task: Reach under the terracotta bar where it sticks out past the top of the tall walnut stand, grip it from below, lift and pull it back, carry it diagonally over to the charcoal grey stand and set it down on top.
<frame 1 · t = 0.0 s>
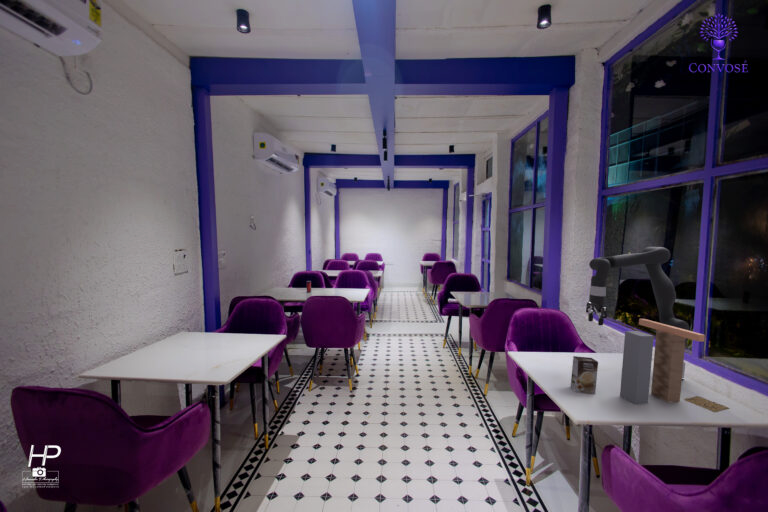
hand: (595, 323, 182), 29 cm above the table, tool pointing down, fingers open, 8 cm apart
sandy brown tile: (705, 405, 154), on the table
walnut stand: (665, 397, 159), on the table
bar: (668, 332, 158), point 32 cm above the table, touching walnut stand
grey stand: (633, 399, 156), on the table
coffee box: (582, 390, 164), on the table
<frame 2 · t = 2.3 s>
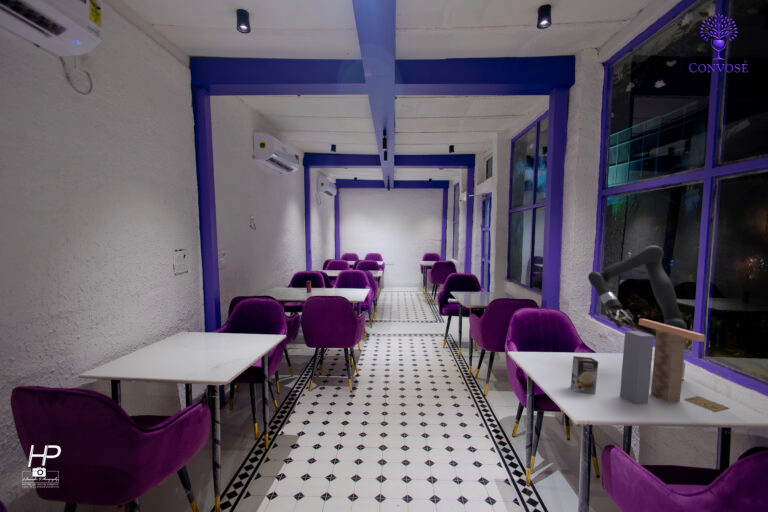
hand: (627, 326, 179), 29 cm above the table, tool tilted 45°, fingers open, 8 cm apart
nothing on the table moved.
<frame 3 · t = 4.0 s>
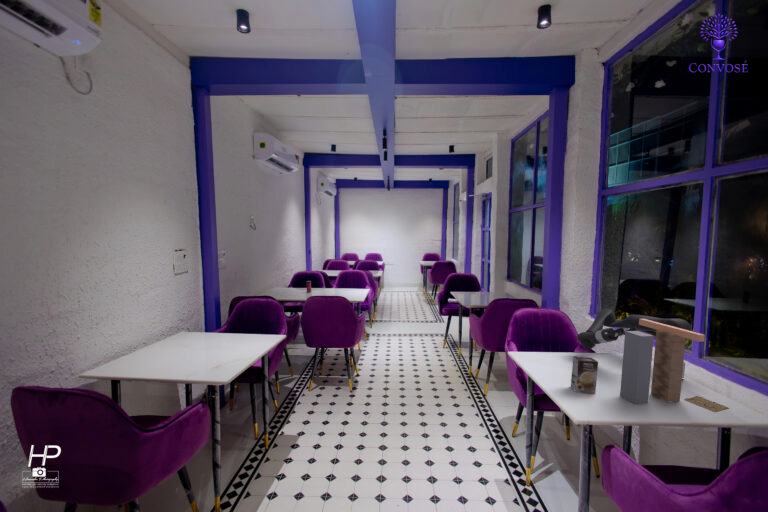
hand: (629, 329, 178), 28 cm above the table, tool pointing upward, fingers open, 8 cm apart
nothing on the table moved.
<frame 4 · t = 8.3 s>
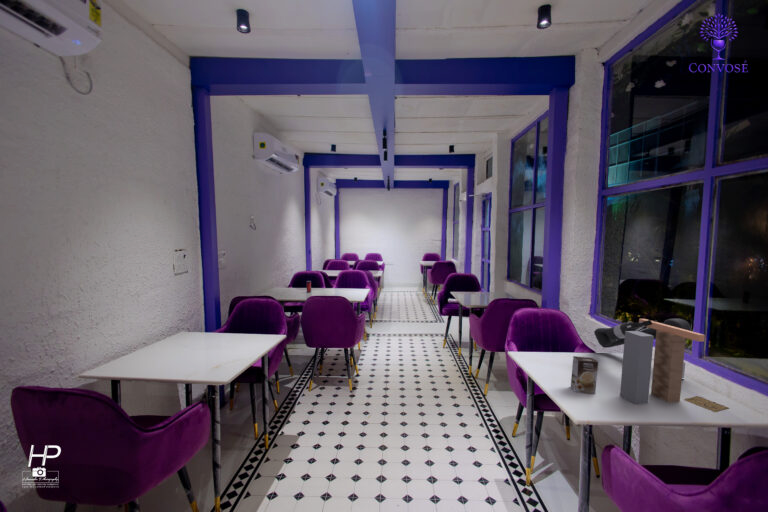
hand: (653, 322, 165), 35 cm above the table, tool pointing upward, fingers closed on bar, 3 cm apart
bar: (668, 332, 158), point 32 cm above the table, touching gripper, walnut stand
everything else where it was.
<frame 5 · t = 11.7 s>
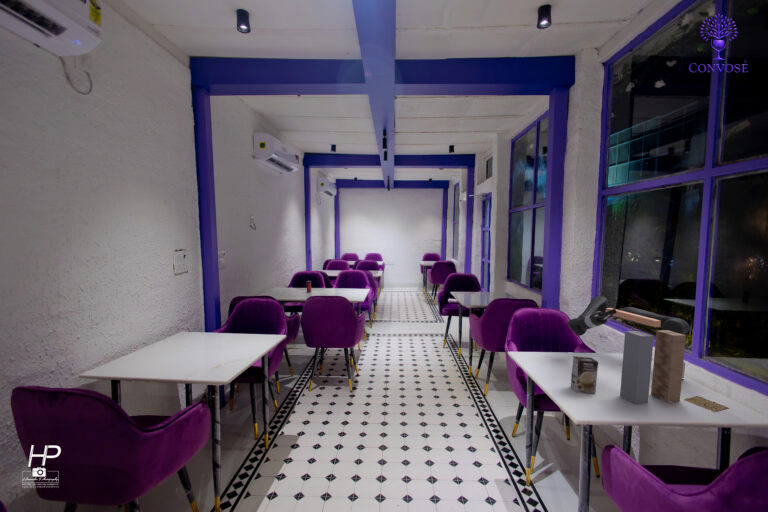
hand: (618, 310, 175), 38 cm above the table, tool pointing upward, fingers closed on bar, 3 cm apart
bar: (630, 319, 167), point 35 cm above the table, touching gripper
everything else where it was.
when the fingers open (36 cm above the table, at t = 15.6 s): bar stays where it is, resting on grey stand.
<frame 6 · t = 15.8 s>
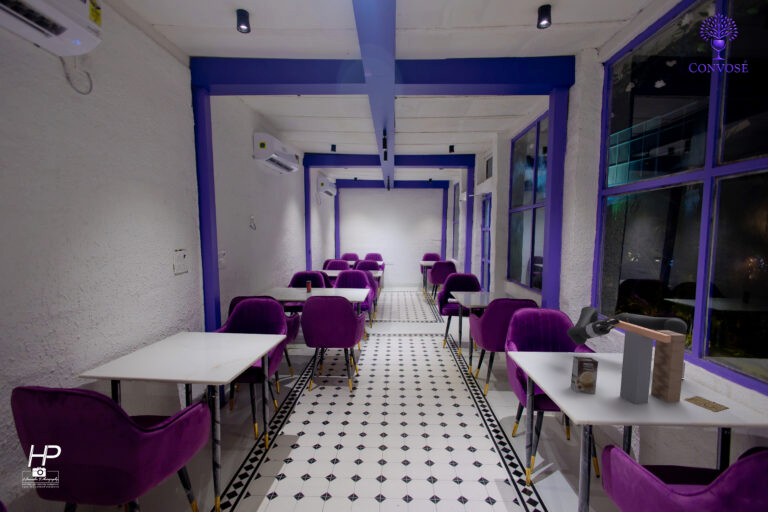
hand: (623, 320, 162), 36 cm above the table, tool pointing upward, fingers open, 5 cm apart
bar: (637, 332, 155), point 32 cm above the table, touching grey stand
everything else where it was.
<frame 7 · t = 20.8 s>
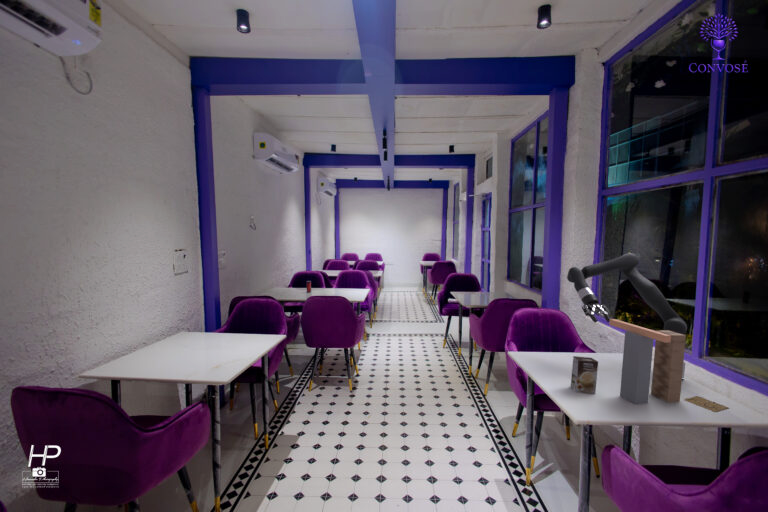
hand: (602, 321, 181), 31 cm above the table, tool tilted 45°, fingers open, 8 cm apart
nothing on the table moved.
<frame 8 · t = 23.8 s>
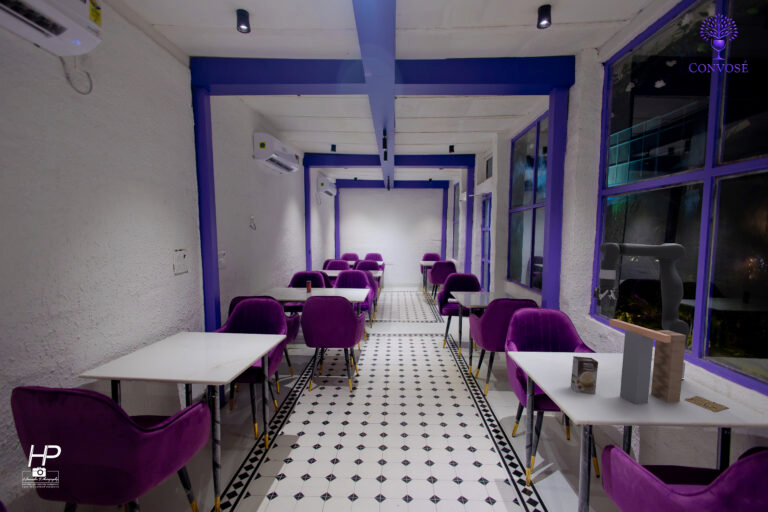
hand: (605, 305, 187), 38 cm above the table, tool pointing down, fingers open, 8 cm apart
nothing on the table moved.
at the end: bar inside the target area on the grey stand (1.0 cm from its centre), point 32.0 cm above the grey stand's base; the gripper is holding nothing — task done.
